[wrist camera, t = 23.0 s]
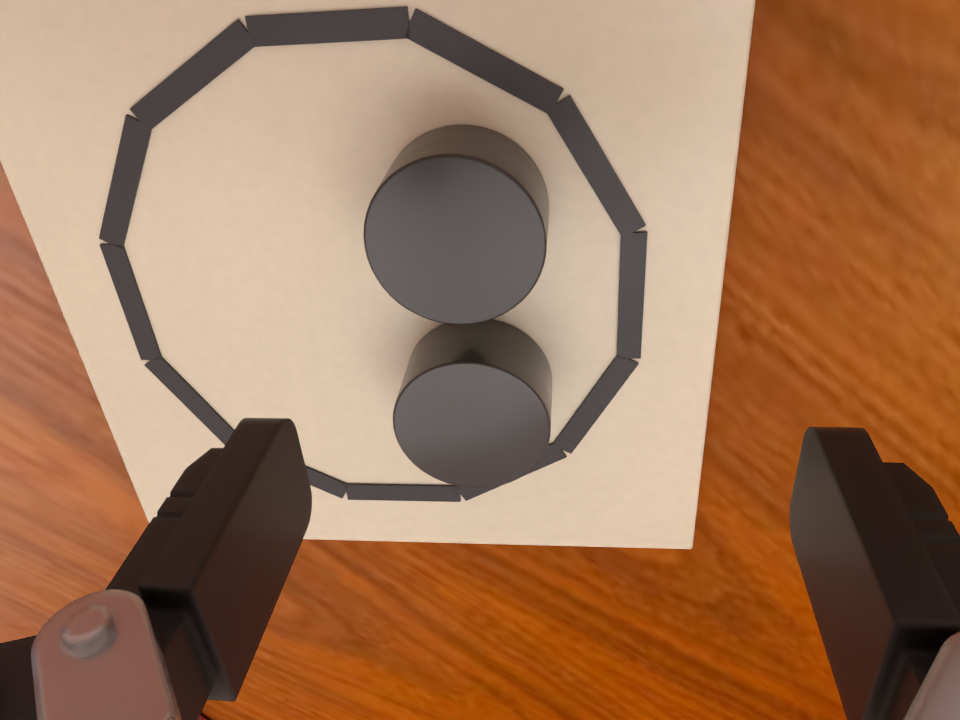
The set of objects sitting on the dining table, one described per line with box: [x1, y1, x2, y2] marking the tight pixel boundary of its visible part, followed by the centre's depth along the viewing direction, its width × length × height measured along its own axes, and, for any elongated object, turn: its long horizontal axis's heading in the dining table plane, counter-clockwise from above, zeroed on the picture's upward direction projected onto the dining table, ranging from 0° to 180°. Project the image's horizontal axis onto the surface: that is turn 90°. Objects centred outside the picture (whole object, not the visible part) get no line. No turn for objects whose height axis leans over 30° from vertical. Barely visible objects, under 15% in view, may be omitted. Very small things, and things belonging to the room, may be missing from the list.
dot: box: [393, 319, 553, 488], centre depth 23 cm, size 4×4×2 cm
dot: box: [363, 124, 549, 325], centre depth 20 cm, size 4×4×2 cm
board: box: [0, 0, 755, 549], centre depth 23 cm, size 20×20×1 cm
